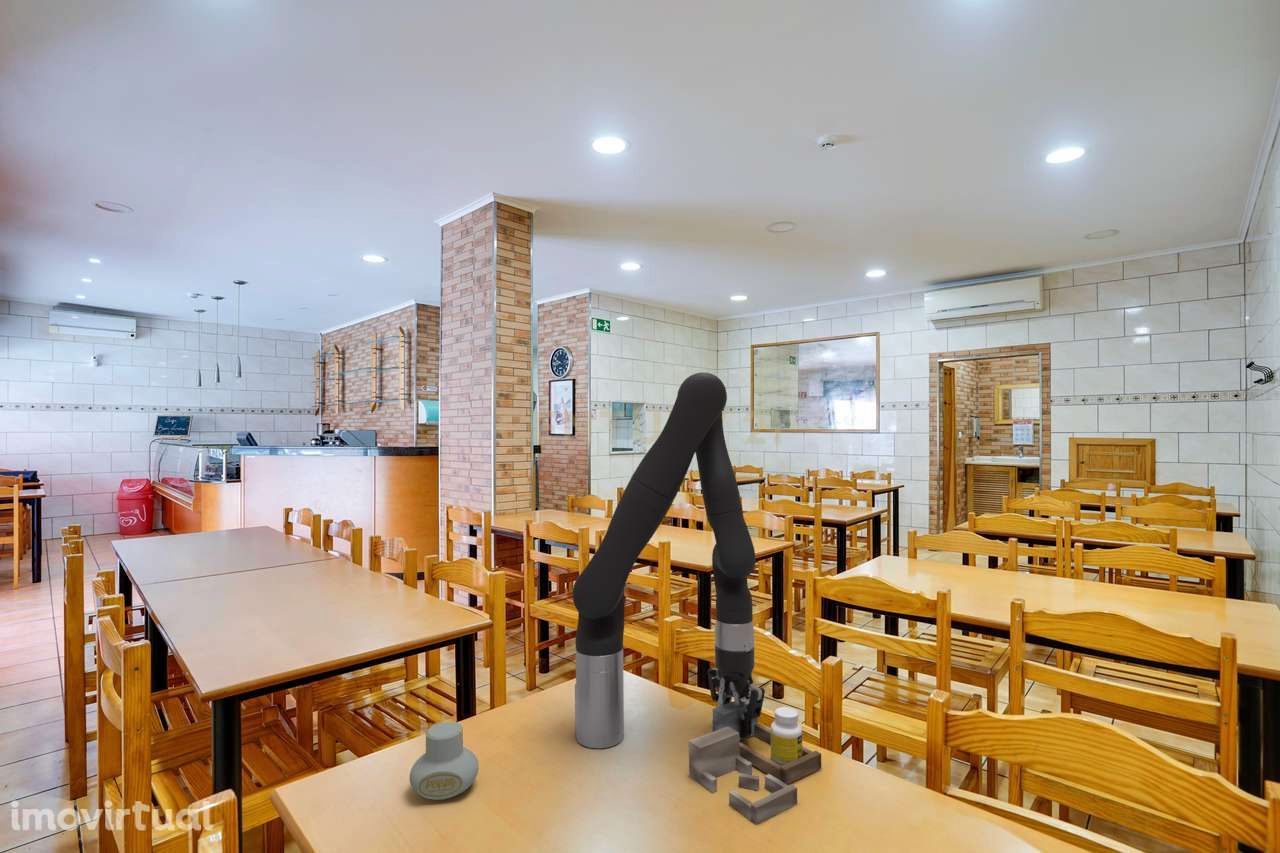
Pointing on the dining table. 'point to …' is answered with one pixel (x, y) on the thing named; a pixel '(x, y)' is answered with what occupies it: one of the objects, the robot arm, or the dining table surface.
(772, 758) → the supplement bottle
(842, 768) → the dining table surface
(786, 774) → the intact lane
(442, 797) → the air freshener
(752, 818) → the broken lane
